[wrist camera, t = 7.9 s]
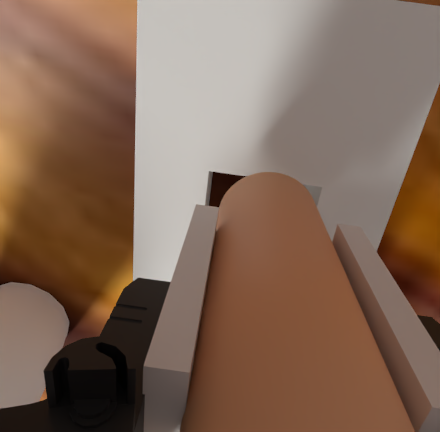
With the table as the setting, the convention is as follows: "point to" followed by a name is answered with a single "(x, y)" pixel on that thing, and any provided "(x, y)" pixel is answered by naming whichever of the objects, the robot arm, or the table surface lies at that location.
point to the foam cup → (27, 341)
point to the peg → (284, 326)
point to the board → (277, 107)
